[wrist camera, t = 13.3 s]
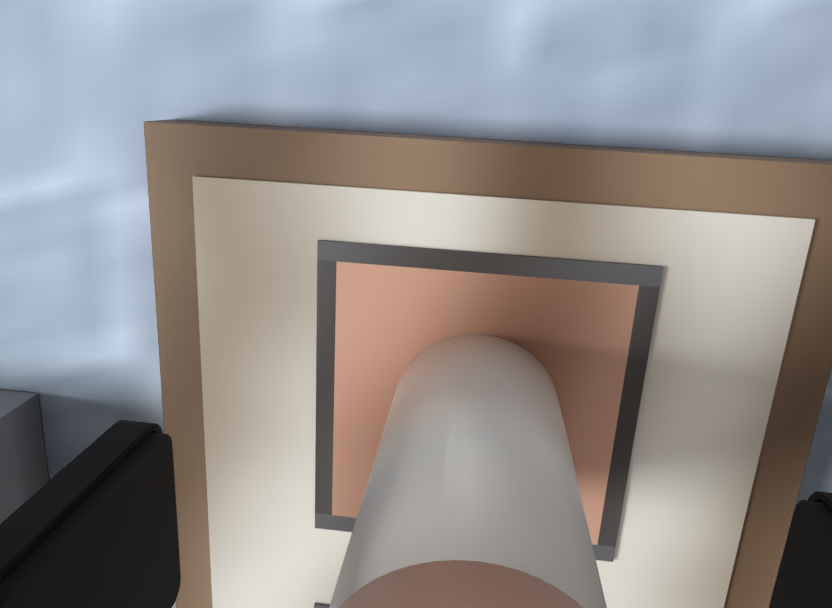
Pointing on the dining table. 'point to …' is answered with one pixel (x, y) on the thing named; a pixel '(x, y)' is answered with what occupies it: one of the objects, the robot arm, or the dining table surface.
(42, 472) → the button housing
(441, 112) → the dining table surface
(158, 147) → the picture board
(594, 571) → the cylinder
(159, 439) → the robot arm
